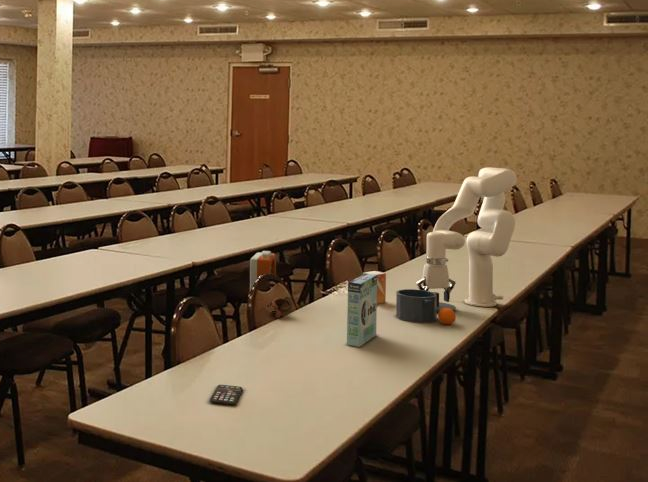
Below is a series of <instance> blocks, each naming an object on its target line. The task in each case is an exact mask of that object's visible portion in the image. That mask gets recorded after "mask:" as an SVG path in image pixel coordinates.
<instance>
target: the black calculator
mask: <svg viewBox="0 0 648 482" xmlns="http://www.w3.org/2000/svg"><path fill="white" fill-rule="evenodd" d="M242 392H243V387H242V386H238V385H237V386H236V385H228V384H218V385H217V386H216V388H215V389H214V392H213V393H212V395H211V396H210V399H209V402H210V403H212V404H221V405H231V406H235V405H236V403H237V401H238V399H239V397H240V395H241V393H242Z"/></svg>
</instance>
